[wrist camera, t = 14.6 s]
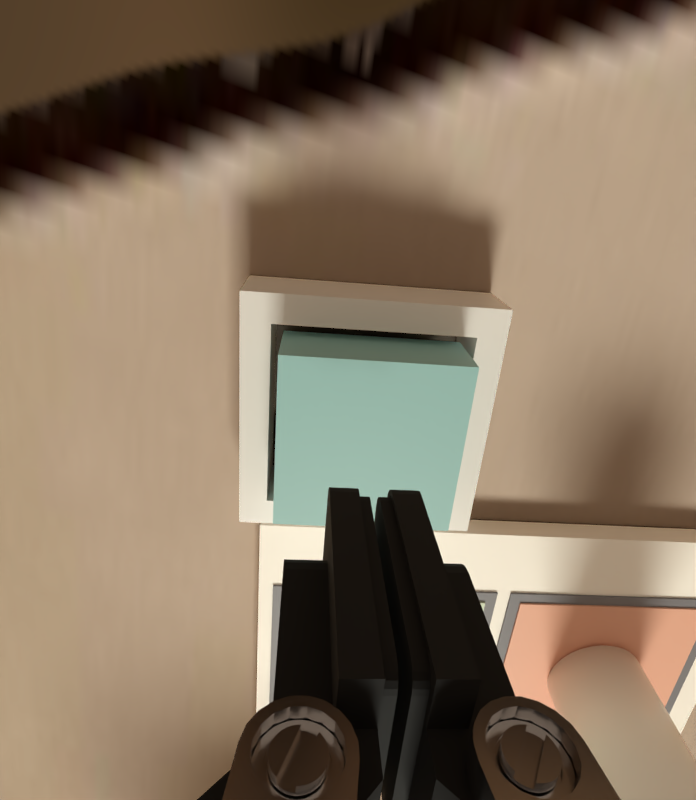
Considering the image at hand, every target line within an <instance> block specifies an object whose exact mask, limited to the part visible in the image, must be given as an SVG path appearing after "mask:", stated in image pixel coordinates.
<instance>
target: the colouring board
mask: <svg viewBox="0 0 696 800" xmlns="http://www.w3.org/2000/svg"><path fill="white" fill-rule="evenodd" d="M433 532H434V535H435V538H436V541H437V544H438V547H439V551H440V554H441V557H442V560H443V563H448V564H463V565H464V566H465V567H466V569H467V571H468V573H469V575H470V578H471V580H472V583H473V586H474V588H475V591H476V593H477V596H478V599H479V601H480V604H481V607H482V609H483V612H484V615H485V617H486V620H487V622H488V625H489V628H490V630H491V633H492V636H493V638H494V641H495V644H496V646H497V649H498V652H499V654H500V657H501V659H502V662H503V665H504V667H505V670H506V673H507V675H508V678H509V681H510V683H511V686H512V688H513V691H514V694H515V696H521V697H525V698H529V699H532V700H536V701H539V702H541V703H543V704H544V705H546V706H548V707H550V708H552V709H554V710H555V711H556V709H555V706H554V704H553V701H552V698H551V696H550V693H549V690H548V686H547V680H548V676H549V673H550V672H551V670H552V668H553V667H554V666H555V665H556V664H557V663H558V662H559V661H560V660H561V659H562V658H564V657H565V656H567V655H568V654H570V653H572V652H575V651H577V650H579V649H583V648H586V647H591V646H599V645H607V646H615V647H619V648H622V649H625V650H627V651H629V652H630V653H632V654H633V655H634V656H635V657H636V658H637V660H638V662H639V663H640V665H641V667H642V668H643V670H644V672H645V674H646V675H647V677H648V679H649V681H650V682H651V684H652V686H653V688H654V689H655V691H656V693H657V695H658V696H659V698H660V700H661V702H662V703H663V705H664V707H665V708H666V710H667V712H668V714H669V715H670V717H671V719H672V721H673V722H674V724H675V726H676V728H677V729H678V731H679V733H680V734H681V732H682V730H683V728H684V726H685V724H686V722H687V720H688V718H689V716H690V714H691V712H692V710H693V708H694V706H695V704H696V529H678V528H655V527H631V526H607V525H584V524H560V523H537V522H513V521H489V520H469V525H468V530H467V531H451V530H448V531H435V530H433ZM324 537H325V526H312V525H288V524H273V523H260V546H259V598H258V650H257V702H256V713H257V712H258V711H259V710H260V709H262V708H263V707H265V706H266V705H268V704H269V703H271V702H273V697H274V684H275V671H276V657H277V644H278V631H279V617H280V604H281V591H282V578H283V565H284V559H290V560H323V550H324Z"/></svg>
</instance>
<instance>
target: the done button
mask: <svg viewBox="0 0 696 800" xmlns="http://www.w3.org/2000/svg"><path fill="white" fill-rule="evenodd" d="M478 372H479V366H478V365H477V364H476V363H475V361H474V360H473V359H472V357H471V356H470V355H469V353H468V352H467V351H466V349H465V348H464V347H463V345H462V344H461V343H460V342H451V341H436V340H421V339H405V338H390V337H375V336H360V335H345V334H330V333H315V332H300V331H285V330H284V332H283V336H282V340H281V344H280V348H279V353H278V371H277V403H276V436H275V468H274V501H273V524H288V525H312V526H325V524H326V512H327V499H328V489H329V487H335V488H358V489H359V494H360V496H365V497H370V500H371V506H372V512H373V518H374V520H375V512H376V504H377V499H378V497H387V496H388V492H389V490H416V491H420V493H421V495H422V498H423V501H424V504H425V507H426V511H427V514H428V517H429V520H430V523H431V526H432V529H433V530H435V531H448V529H449V524H450V519H451V514H452V508H453V503H454V498H455V493H456V487H457V482H458V477H459V472H460V466H461V461H462V456H463V451H464V445H465V440H466V435H467V430H468V424H469V419H470V414H471V409H472V403H473V398H474V393H475V388H476V382H477V377H478Z"/></svg>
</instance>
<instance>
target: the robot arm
mask: <svg viewBox="0 0 696 800" xmlns="http://www.w3.org/2000/svg"><path fill="white" fill-rule="evenodd" d="M381 792H382V800H621V799H620V798H619V796H618V794H617V793H616V791H615V790H614V788H613V786H612V785H611V783H610V781H609V780H608V778H607V777H606V775H605V773H604V772H603V770H602V768H601V767H600V765H599V764H598V762H597V760H596V759H595V757H594V755H593V754H592V752H591V751H590V749H589V747H588V746H587V744H586V743H585V741H584V739H583V738H582V737H581V736H580V734H579V733H578V732H577V730H576V729H575V728H574V727H573V725H572V724H571V723H570V722H569V721H567V720H566V719H565V718H564V717H563V716H561V715H560V714H559V713H558V712H557V711H555V710H554V709H552V708H550V707H548V706H546V705H544V704H543V703H541V702H539V701H536V700H532V699H529V698H525V697H521V696H515V694H514V691H513V688H512V686H511V683H510V681H509V678H508V675H507V673H506V670H505V667H504V665H503V662H502V659H501V657H500V654H499V652H498V649H497V646H496V644H495V641H494V638H493V636H492V633H491V630H490V628H489V625H488V622H487V620H486V617H485V615H484V612H483V609H482V607H481V604H480V601H479V599H478V596H477V593H476V591H475V588H474V586H473V583H472V580H471V578H470V575H469V573H468V571H467V569H466V567H465V566H464V565H463V564H448V563H443V560H442V557H441V554H440V551H439V547H438V544H437V541H436V538H435V535H434V532H433V529H432V526H431V523H430V520H429V517H428V514H427V511H426V507H425V504H424V501H423V498H422V495H421V493H420V491H416V490H389V492H388V496H387V497H378V499H377V504H376V512H375V520H374V518H373V512H372V506H371V500H370V497H365V496H360V494H359V489H358V488H335V487H329V489H328V499H327V512H326V524H325V537H324V550H323V560H290V559H284V565H283V578H282V591H281V604H280V617H279V631H278V644H277V657H276V671H275V684H274V697H273V702H271V703H269V704H268V705H266V706H265V707H263V708H262V709H260V710H259V711H258V712H257V713H256V714H255V715H254V716H253V717H252V719H251V720H250V721H249V722H248V723H247V724H246V726H245V729H244V731H243V733H242V735H241V737H240V740H239V742H238V746H237V749H236V753H235V756H234V760H233V763H232V767H231V770H230V771H229V772H227V773H226V774H225V775H224V776H223V777H222V778H221V779H220V780H219V781H217V782H216V783H215V784H214V785H213V786H212V787H211V788H210V789H209V790H207V791H206V792H205V793H204V794H203V795H202V796H201V797H200V798H199V799H197V800H380V796H381Z"/></svg>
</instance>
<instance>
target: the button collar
mask: <svg viewBox="0 0 696 800" xmlns="http://www.w3.org/2000/svg"><path fill="white" fill-rule="evenodd" d="M512 313H513V310H512V309H511V308H510V307H509V306H507V305H506V304H505V303H503V302H502V301H501V300H500V299H498V298H497V297H496V296H494V295H493V294H492V293H485V292H471V291H458V290H444V289H430V288H417V287H403V286H389V285H376V284H362V283H348V282H335V281H321V280H307V279H294V278H280V277H266V276H253V275H249V277H248V278H247V280H246V282H245V283H244V285H243V286H242V288H241V289H240V358H239V522H255V523H273V501H274V468H275V466H273V432H274V398H275V363H276V329H277V324H280V325H295V326H310V327H325V328H340V329H354V330H369V331H384V332H399V333H414V334H429V335H444V336H457V337H456V342H460V343H461V344H462V345H463V347H464V348H465V349H466V351H467V352H468V353H469V355H470V356H471V357H472V359H473V360H474V361H475V363H476V364H477V365H478V366H479V372H478V377H477V382H476V388H475V393H474V398H473V403H472V409H471V414H470V419H469V424H468V430H467V435H466V440H465V445H464V451H463V456H462V461H461V466H460V472H459V477H458V482H457V487H456V493H455V498H454V503H453V508H452V514H451V519H450V524H449V529H448V530H451V531H467V530H468V525H469V520H470V516H471V511H472V506H473V501H474V496H475V491H476V487H477V482H478V477H479V472H480V467H481V463H482V458H483V453H484V448H485V443H486V439H487V434H488V429H489V424H490V419H491V414H492V410H493V405H494V400H495V395H496V390H497V386H498V381H499V376H500V371H501V366H502V361H503V357H504V352H505V347H506V342H507V337H508V333H509V328H510V323H511V318H512Z"/></svg>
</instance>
